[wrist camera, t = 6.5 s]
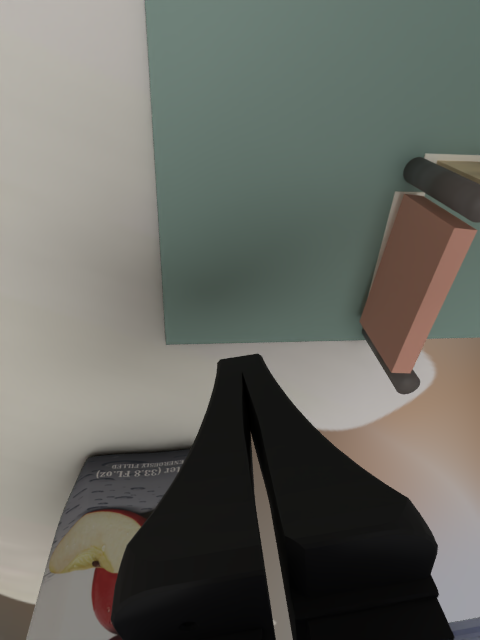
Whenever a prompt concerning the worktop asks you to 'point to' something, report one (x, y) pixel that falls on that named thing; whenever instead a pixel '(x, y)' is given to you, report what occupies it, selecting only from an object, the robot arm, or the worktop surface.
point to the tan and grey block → (454, 192)
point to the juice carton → (98, 542)
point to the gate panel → (414, 279)
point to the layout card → (302, 157)
